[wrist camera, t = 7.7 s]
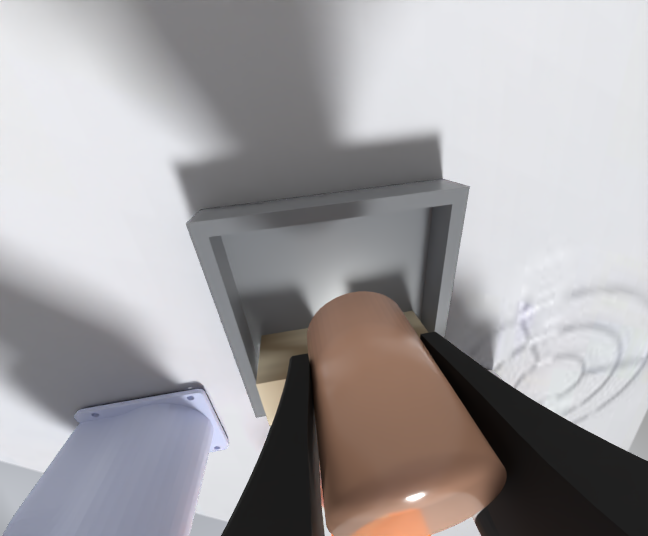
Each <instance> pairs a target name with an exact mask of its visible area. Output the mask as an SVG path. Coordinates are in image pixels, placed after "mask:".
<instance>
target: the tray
mask: <svg viewBox="0 0 648 536" xmlns="http://www.w3.org/2000/svg"><path fill="white" fill-rule="evenodd" d="M469 187H470V186H466V185H463V184H459V183H456V182H452V181H449V180H445V179H438V180H430V181H422V182H414V183H406V184H398V185H391V186H383V187H375V188H367V189H359V190H351V191H343V192H335V193H328V194H320V195H312V196H304V197H296V198H288V199H280V200H272V201H265V202H257V203H249V204H241V205H233V206H225V207H217V208H209V209H201V210H200V211H199V212H198V213H197V214H196V215H195V216H193V217H192V218H191V219H190V220H189V221H188V222H187V223H186V226H187V228H188V231H189V234H190V237H191V239H192V242H193V245H194V248H195V250H196V253H197V256H198V259H199V261H200V264H201V267H202V270H203V272H204V275H205V278H206V281H207V283H208V286H209V289H210V292H211V295H212V297H213V300H214V303H215V306H216V308H217V311H218V314H219V317H220V319H221V322H222V325H223V328H224V330H225V333H226V336H227V339H228V341H229V344H230V347H231V350H232V352H233V355H234V358H235V361H236V363H237V366H238V369H239V372H240V375H241V377H242V380H243V383H244V386H245V388H246V391H247V394H248V397H249V399H250V402H251V405H252V408H253V410H254V413H255V416H256V418H257V417H262V416H266V413H265V410H264V407H263V404H262V401H261V398H260V395H259V392H258V389H257V386H256V380H257V371H258V362H259V354H260V345H261V336H262V335H268V334H274V333H280V332H286V331H292V330H298V329H305V328H308V327H309V324H310V322H311V320H312V318H313V317H314V315H315V314H316V313H317V312H318V310H319V309H320V308H321V307H323V306H324V305H325V304H326V303H328V302H329V301H331V300H333V299H335V298H337V297H339V296H341V295H344V294H348V293H352V292H358V291H369V292H376V293H380V294H383V295H385V296H387V297H389V298H390V299H392V300H393V301H394V302H395V303H396V304H397V305H398V306H399V307H400V309H401V310H402V312H408V311H413V312H414V313H415V314H416V316H417V317H418V319H419V320H420V321H421V323H422V324H423V325H424V327H425V328H426V330H427V331H428V332H429V333H430V332H437V333H438V334H439V335H441V336H442V337H443V338H445V332H446V326H447V320H448V314H449V308H450V302H451V296H452V290H453V284H454V278H455V272H456V266H457V260H458V254H459V248H460V242H461V236H462V230H463V224H464V218H465V211H466V205H467V199H468V193H469Z"/></svg>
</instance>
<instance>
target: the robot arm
mask: <svg viewBox="0 0 648 536" xmlns="http://www.w3.org/2000/svg"><path fill="white" fill-rule="evenodd" d="M420 339H421V341H422V342H423V344H424V345H425V347H426V348H427V350H428V351H429V353H430V354H431V356H432V357H433V359H434V360H435V362H436V364H437V365H438V367H439V368H440V370H441V371H442V373H443V374H444V376H445V377H446V379H447V380H448V382H449V383H450V385H451V386H452V388H453V389H454V391H455V392H456V394H457V396H458V397H459V399H460V400H461V402H462V403H463V405H464V406H465V408H466V409H467V411H468V412H469V414H470V415H471V417H472V418H473V420H474V421H475V423H476V424H477V426H478V428H479V429H480V431H481V432H482V434H483V435H484V437H485V438H486V440H487V441H488V443H489V444H490V446H491V447H492V449H493V450H494V452H495V453H496V455H497V456H498V458H499V460H500V461H501V463H502V464H503V466H504V467H505V470H506V472H507V478H506V482H505V485H504V487H503V489H502V490H501V492H500V493H499V495H498V496H497V497H496V498H495V499H494V500H493V501H492V502H491V503H490V504H489V505H487V506H486V507H487V509H488V511H489V513H490V516H491V518H492V520H493V522H494V524H495V527H496V529H497V531H498V533H499V536H648V461H646V460H644V459H642V458H640V457H638V456H636V455H633V454H631V453H629V452H627V451H625V450H623V449H621V448H619V447H617V446H615V445H613V444H611V443H609V442H608V441H606V440H604V439H602V438H600V437H598V436H596V435H594V434H592V433H590V432H588V431H586V430H585V429H583V428H581V427H579V426H577V425H575V424H573V423H572V422H570V421H568V420H566V419H564V418H563V417H561V416H559V415H558V414H556V413H554V412H552V411H551V410H549V409H547V408H546V407H544V406H542V405H540V404H539V403H537V402H535V401H534V400H532V399H530V398H529V397H527V396H526V395H524V394H523V393H521V392H519V391H518V390H516V389H515V388H513V387H512V386H510V385H509V384H507V383H506V382H504V381H503V380H501V379H500V378H498V377H497V376H495V375H494V374H492V373H491V372H490V371H488V370H487V369H485V368H484V367H483V366H481V365H480V364H478V363H477V362H476V361H474V360H473V359H471V358H470V357H469V356H467V355H466V354H465V353H463V352H462V351H461V350H459V349H458V348H457V347H455V346H454V345H453V344H451V343H450V342H449V341H447V340H446V339H445V338H443V337H442V336H441V335H439V334H438V333H437V332H430V333H424V334H420ZM74 418H75V419H76V420H77V422H78V423H79V424H78V426H77V427H76V429H75V430H74V431H73V433H72V434H71V436H70V437H69V438H68V440H67V441H66V443H65V444H64V445H63V447H62V448H61V450H60V451H59V452H58V454H57V455H56V457H55V458H54V460H53V461H52V462H51V464H50V465H49V467H48V468H47V469H46V471H45V472H44V474H43V475H42V476H41V478H40V479H39V481H38V482H37V484H36V485H35V486H34V488H33V489H32V490H31V492H30V493H29V495H28V496H27V498H26V499H25V500H24V502H23V503H22V505H21V506H20V507H19V509H18V510H17V512H16V513H15V515H14V516H13V518H12V519H11V521H10V522H9V524H8V526H7V528H6V530H5V531H4V533H3V536H189V535H190V531H191V527H192V522H193V518H194V514H195V510H196V506H197V502H198V497H199V493H200V489H201V485H202V481H203V476H204V472H205V468H206V464H207V459H208V455H209V452H214V451H219V450H224V449H227V448H228V446H229V441H228V439H227V437H226V435H225V432H224V430H223V428H222V426H221V424H220V422H219V420H218V418H217V416H216V414H215V412H214V409H213V407H212V405H211V403H210V401H209V399H208V397H207V395H206V393H205V391H204V390H202V389H193V390H187V391H181V392H176V393H170V394H164V395H158V396H153V397H147V398H141V399H136V400H130V401H124V402H119V403H113V404H107V405H102V406H96V407H90V408H85V409H80V410H78V411H77V412H76V413H75V415H74ZM221 536H325V535H324V525H323V516H322V506H321V494H320V472H319V451H318V441H317V432H316V422H315V413H314V403H313V393H312V380H311V371H310V362H309V356H308V353H307V354H301V355H295V356H292V357H291V358H290V360H289V367H288V372H287V377H286V381H285V384H284V388H283V392H282V395H281V398H280V402H279V405H278V408H277V411H276V414H275V417H274V420H273V422H272V425H271V428H270V431H269V433H268V436H267V439H266V441H265V444H264V446H263V449H262V451H261V454H260V456H259V458H258V461H257V463H256V465H255V467H254V470H253V472H252V474H251V477H250V479H249V481H248V483H247V485H246V487H245V489H244V491H243V493H242V495H241V498H240V500H239V502H238V504H237V506H236V508H235V510H234V512H233V514H232V516H231V518H230V520H229V522H228V524H227V526H226V527H225V529H224V531H223V533H222V535H221Z"/></svg>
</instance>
